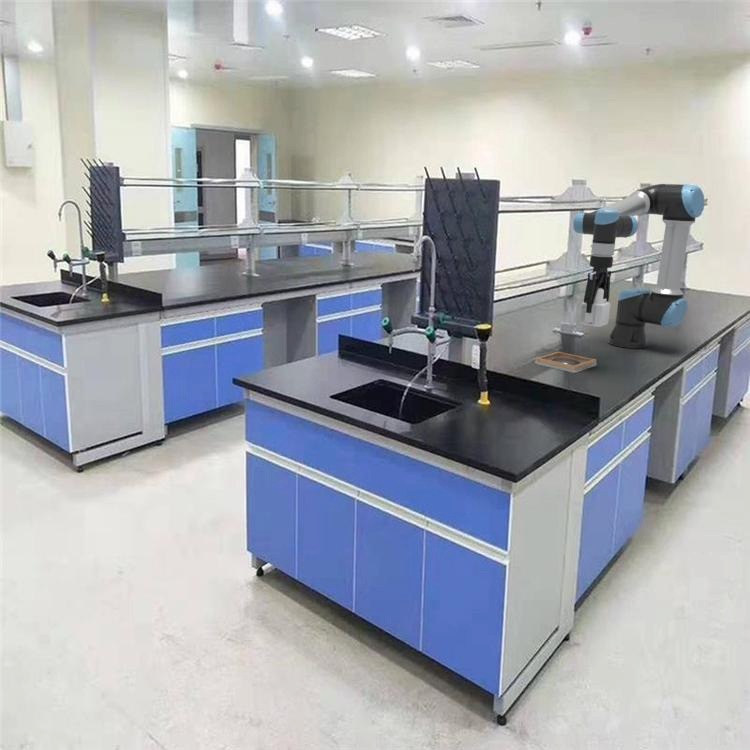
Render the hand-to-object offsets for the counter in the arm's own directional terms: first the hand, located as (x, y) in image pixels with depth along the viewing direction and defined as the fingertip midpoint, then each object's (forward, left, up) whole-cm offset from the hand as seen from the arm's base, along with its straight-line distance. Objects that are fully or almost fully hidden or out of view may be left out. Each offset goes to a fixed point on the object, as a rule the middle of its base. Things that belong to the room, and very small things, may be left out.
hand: (593, 320), depth 247 cm
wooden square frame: (+3, -8, -17) cm, 19 cm away
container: (0, 0, -2) cm, 2 cm away
